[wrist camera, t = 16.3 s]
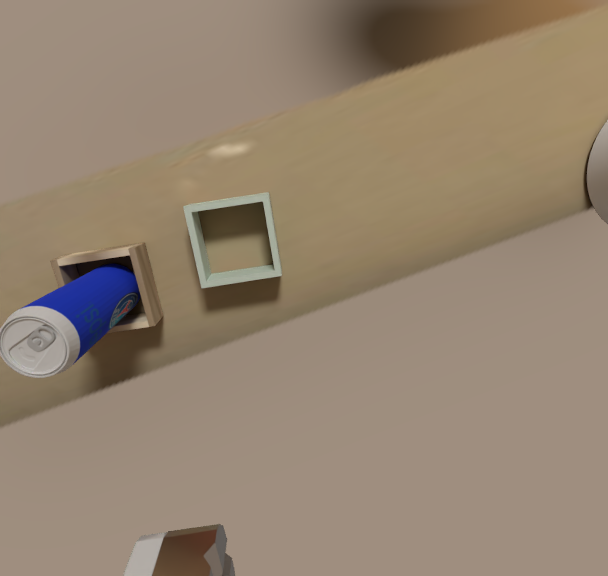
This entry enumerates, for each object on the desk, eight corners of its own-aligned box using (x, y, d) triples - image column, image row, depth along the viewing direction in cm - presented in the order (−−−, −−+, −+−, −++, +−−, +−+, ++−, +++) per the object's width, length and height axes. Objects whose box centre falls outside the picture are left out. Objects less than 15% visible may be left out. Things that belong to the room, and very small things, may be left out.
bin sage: (269, 192, 40) (268, 193, 37) (281, 268, 42) (281, 275, 39) (190, 204, 40) (183, 206, 37) (206, 280, 42) (201, 288, 39)
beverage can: (120, 320, 43) (40, 395, 28) (80, 286, 42) (-25, 346, 27) (153, 287, 42) (89, 348, 28) (114, 251, 41) (25, 294, 26)
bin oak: (144, 242, 41) (134, 247, 38) (163, 315, 43) (155, 325, 40) (66, 254, 41) (50, 260, 38) (89, 327, 43) (75, 338, 40)
